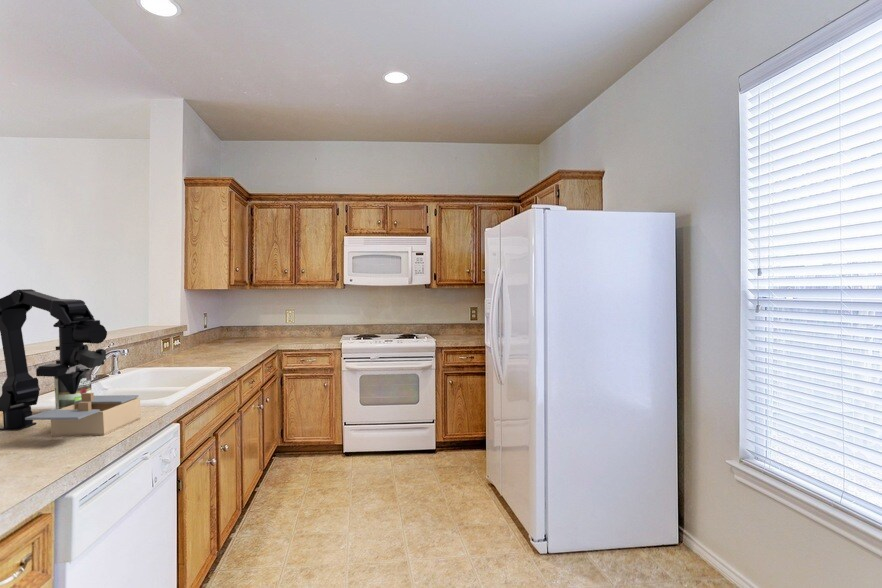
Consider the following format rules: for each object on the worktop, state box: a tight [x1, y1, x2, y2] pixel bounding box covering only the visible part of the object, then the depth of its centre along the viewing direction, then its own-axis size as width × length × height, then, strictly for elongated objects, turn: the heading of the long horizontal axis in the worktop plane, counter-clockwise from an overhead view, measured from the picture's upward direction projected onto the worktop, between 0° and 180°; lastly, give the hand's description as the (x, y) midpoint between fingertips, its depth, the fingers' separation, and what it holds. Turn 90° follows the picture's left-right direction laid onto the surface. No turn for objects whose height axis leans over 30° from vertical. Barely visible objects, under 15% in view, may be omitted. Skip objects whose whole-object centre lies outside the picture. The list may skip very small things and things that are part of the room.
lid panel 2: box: [74, 392, 140, 404], centre depth 153 cm, size 15×8×3 cm, turn 87°
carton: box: [50, 397, 142, 437], centre depth 149 cm, size 16×16×7 cm
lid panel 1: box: [25, 402, 100, 421], centre depth 136 cm, size 15×8×3 cm, turn 87°
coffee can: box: [53, 369, 93, 410], centre depth 166 cm, size 10×10×14 cm
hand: (72, 394), depth 144 cm, fingers closed
